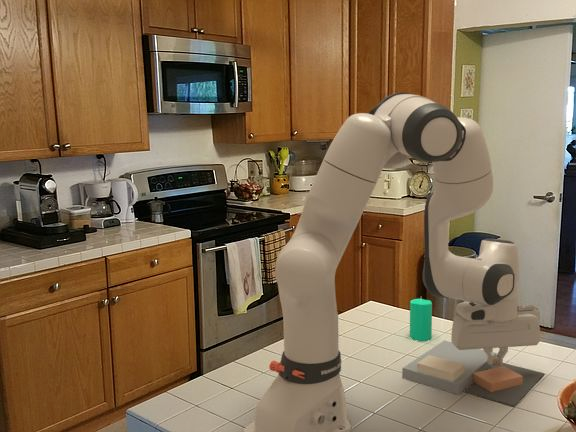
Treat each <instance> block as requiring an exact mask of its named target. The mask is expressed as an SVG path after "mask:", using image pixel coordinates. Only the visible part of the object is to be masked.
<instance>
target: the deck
mask: <svg viewBox="0 0 576 432" xmlns="http://www.w3.org/2000/svg"><path fill="white" fill-rule="evenodd" d="M490 353H491V355H492V356H494V355H497V354H498V352H490ZM428 355H431V356H435V357H439V358H443V359H446V360H450V361H454V362H458V363H461V364H465V373H463V374H462V375H461V376H460V377H458V378H457V379H456V380H455V381H449V380H446V379H442V378H439V377H435V376H432V375H428V374H425V373H422V372H418V371H417V363H418V362H419V361H421V360H422V359H424V358H425V357H427V356H428ZM487 358H488V356H487V355H486V353H485V352H484V350H483V349H469V350H459V349H457V348H456V347H455V346H454V345H453V343H452V341H448V340H443V341H441V342H440V343H438V344H436V345H435V346H433V347H432V348H431V349H429V350H428V351H425V353H423V354H421V355H420V356H419V357H417V358H415V359H414V360H412V361H411V362H409V363H408V364H406V365H404V366H403V367H402V371H401V372H402V373H401V374H402V375H401V377H402V379H404V378H405V379H404V380H408V381H411V382H414V381H415V383H418V384H421V385H424V386H427V385H428V386H427V387H431V388H435V389H437V390H441V391H444V392H448V393H451V394H454V395H457V396H459V395H460V394H462V393H463V392H464V390H466V389H467V388H468V387H469V386H470V385H472V384H473V383H474V382H473V373H476V372H480V371H484V370H489V369H490V368H491V367H493V366H494V365H489V364H488V362H487Z"/></svg>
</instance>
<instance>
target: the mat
mask: <svg viewBox="0 0 576 432" xmlns="http://www.w3.org/2000/svg"><path fill="white" fill-rule="evenodd" d="M502 366H504V367H506V368H508V369H510V370H512V371H514V372H516V373H518V374H520V375H522V376H523V383H522V385H518V386H514V387H510V388H506V389H502V390H498V391H494V392H490V391H488V390H487V389H485V388H483V387H482V386H480V385H478V384H477V383H475V382H473V383H472V384H471V385H469V386H468V387H467V388H466V389H465V390H464V391H463V392H464V393H465V394H469V395H472V396H475V397H478V398H482V399H486V400H489V401H492V402H495V403H498V404H502V405H506V406H509V407H512V408H515V407H516V406H517V405H518V404H519V403H520V402H521V401H522V400H523V398H524V397H525V396H526V395H528V393H529V392H530V391H531V390H532V389H533V387H534V386H536V384H537V383H538V382H540V380H541V379H542V378H543V377H544V376H545V373H544V372H541V371H536V370H533V369H530V368H529V369H528V368H525V367H521V366H517V365H513V364H509V363H506V362H505V363H504V362H503V364H502V365H493V366H492V367H491V368H489V369H493V368H498V367H502Z"/></svg>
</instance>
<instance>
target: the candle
mask: <svg viewBox="0 0 576 432" xmlns="http://www.w3.org/2000/svg"><path fill="white" fill-rule="evenodd" d="M432 319H433V303H432V301H431V300H429V299H424V298H421V297H420V298H414V299H412V300H410V303H409V338H410V337H411V338H412V339H414V340H413V341H415V340H418V341H417V342H428V340H429V341H431V340H432V336H433V335H432V333H433V331H432V327H433V320H432ZM411 338H410V339H411ZM412 339H411V340H412Z"/></svg>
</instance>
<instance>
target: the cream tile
mask: <svg viewBox="0 0 576 432" xmlns="http://www.w3.org/2000/svg"><path fill="white" fill-rule="evenodd" d="M417 371H418V372H422V373H425V374H428V375H432V376H435V377H439V378H442V379H446V380H449V381H455V380H456V379H457V378H458V377H460V376H461V375H462V374H463V373H465V364H461V363H458V362H454V361H450V360H446V359H443V358H439V357H435V356H431V355H428V356H427V357H425V358H424V359H422V360H421V361H419V362H418V363H417Z"/></svg>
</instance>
